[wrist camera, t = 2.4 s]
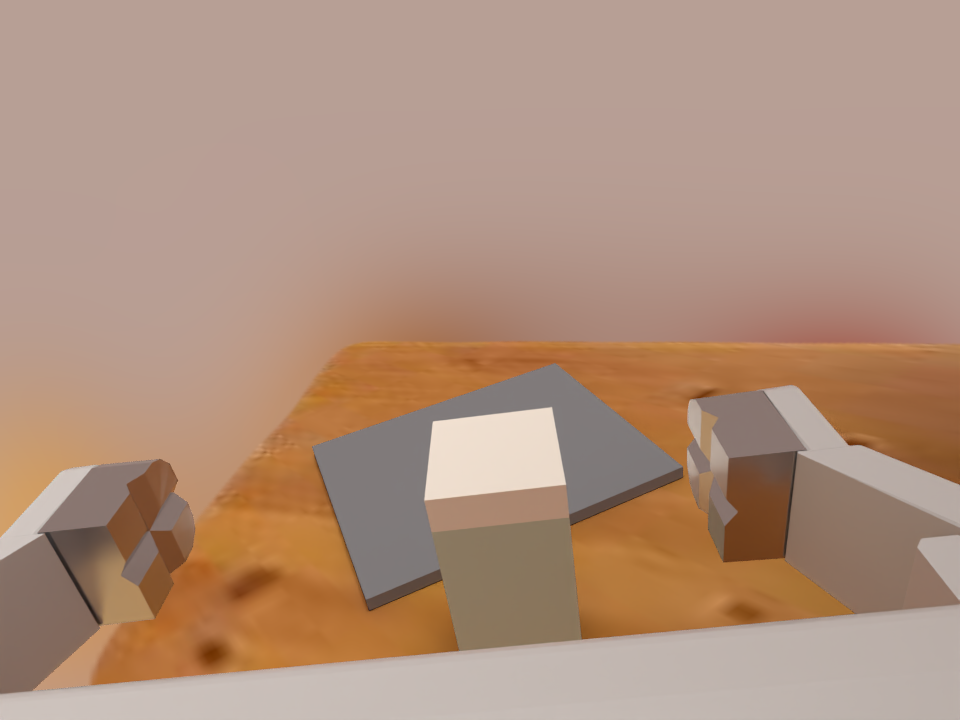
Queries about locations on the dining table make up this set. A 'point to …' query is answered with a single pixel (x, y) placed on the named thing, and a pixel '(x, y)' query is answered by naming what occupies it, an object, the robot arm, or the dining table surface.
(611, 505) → the rubber mat
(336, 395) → the dining table surface
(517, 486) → the sage block
